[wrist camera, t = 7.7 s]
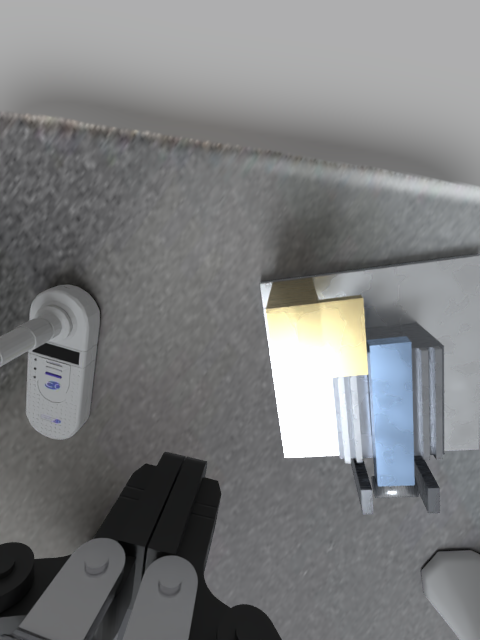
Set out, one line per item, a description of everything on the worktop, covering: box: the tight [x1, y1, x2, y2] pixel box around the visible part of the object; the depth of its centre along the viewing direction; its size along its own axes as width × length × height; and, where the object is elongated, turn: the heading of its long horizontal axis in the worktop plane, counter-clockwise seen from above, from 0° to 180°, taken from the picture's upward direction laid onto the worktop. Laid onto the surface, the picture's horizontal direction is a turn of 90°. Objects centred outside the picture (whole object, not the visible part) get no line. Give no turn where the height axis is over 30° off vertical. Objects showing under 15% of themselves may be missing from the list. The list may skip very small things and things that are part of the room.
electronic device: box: [0, 284, 100, 440], centre depth 29 cm, size 5×10×15 cm
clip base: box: [260, 254, 480, 514], centre depth 26 cm, size 16×16×8 cm
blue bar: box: [366, 336, 419, 498], centre depth 24 cm, size 12×3×1 cm, turn 9°
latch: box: [265, 277, 368, 380], centre depth 24 cm, size 4×5×8 cm
